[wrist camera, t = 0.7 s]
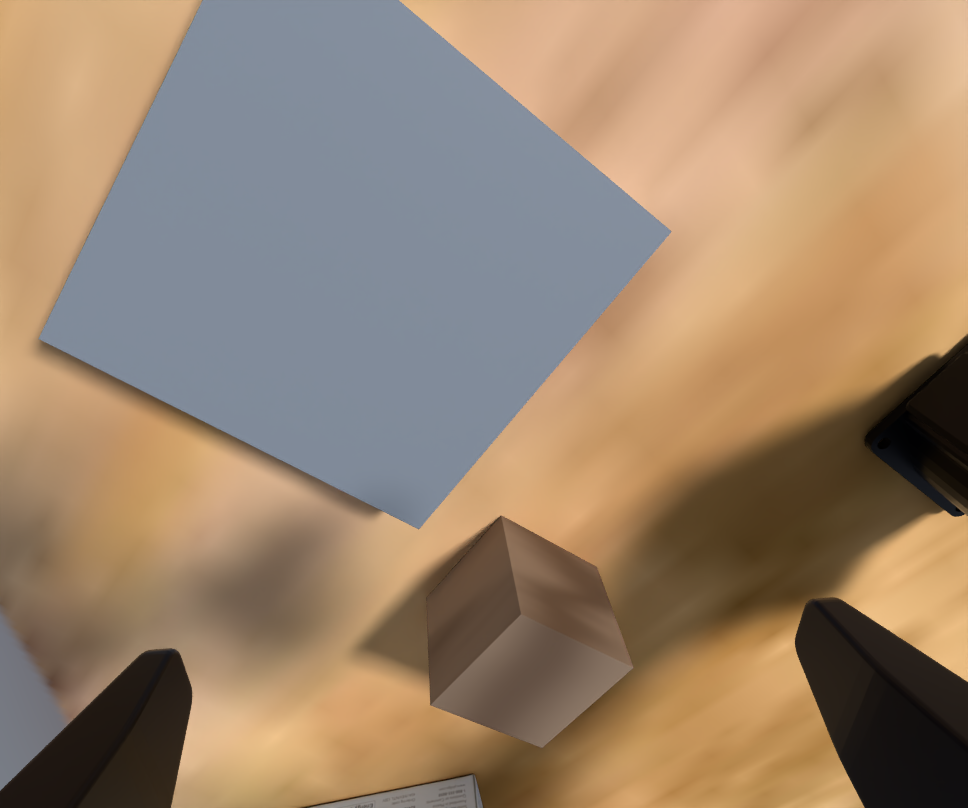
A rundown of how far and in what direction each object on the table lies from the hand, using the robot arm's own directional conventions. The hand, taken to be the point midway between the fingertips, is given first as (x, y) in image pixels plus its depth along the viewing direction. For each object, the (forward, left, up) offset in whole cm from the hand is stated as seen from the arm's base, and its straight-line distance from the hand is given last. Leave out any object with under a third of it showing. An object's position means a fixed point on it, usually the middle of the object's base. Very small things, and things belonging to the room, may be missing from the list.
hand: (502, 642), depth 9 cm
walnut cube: (-9, +8, -13) cm, 18 cm away
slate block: (+3, 0, -13) cm, 14 cm away
